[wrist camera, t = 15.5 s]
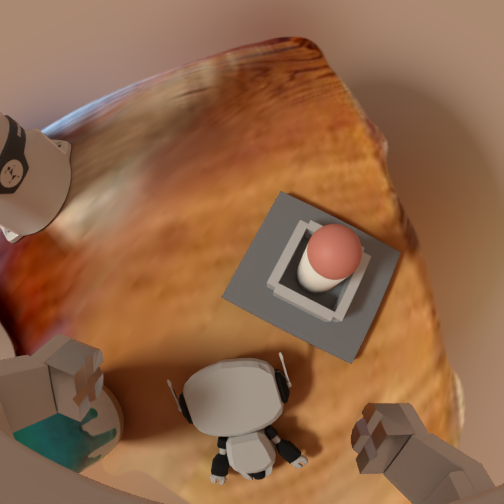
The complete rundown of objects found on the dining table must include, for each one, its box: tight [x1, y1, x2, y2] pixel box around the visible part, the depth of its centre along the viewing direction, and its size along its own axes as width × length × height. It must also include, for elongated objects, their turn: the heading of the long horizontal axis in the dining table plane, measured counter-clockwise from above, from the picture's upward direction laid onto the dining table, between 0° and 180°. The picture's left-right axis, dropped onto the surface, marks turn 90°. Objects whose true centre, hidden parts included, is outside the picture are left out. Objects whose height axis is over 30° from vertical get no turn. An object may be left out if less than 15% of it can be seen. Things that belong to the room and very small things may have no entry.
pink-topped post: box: [296, 224, 362, 294], centre depth 28 cm, size 4×4×12 cm
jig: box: [222, 191, 401, 364], centre depth 33 cm, size 16×14×4 cm
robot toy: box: [167, 352, 308, 484], centre depth 30 cm, size 12×4×15 cm
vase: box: [13, 384, 124, 473], centre depth 23 cm, size 11×11×19 cm
